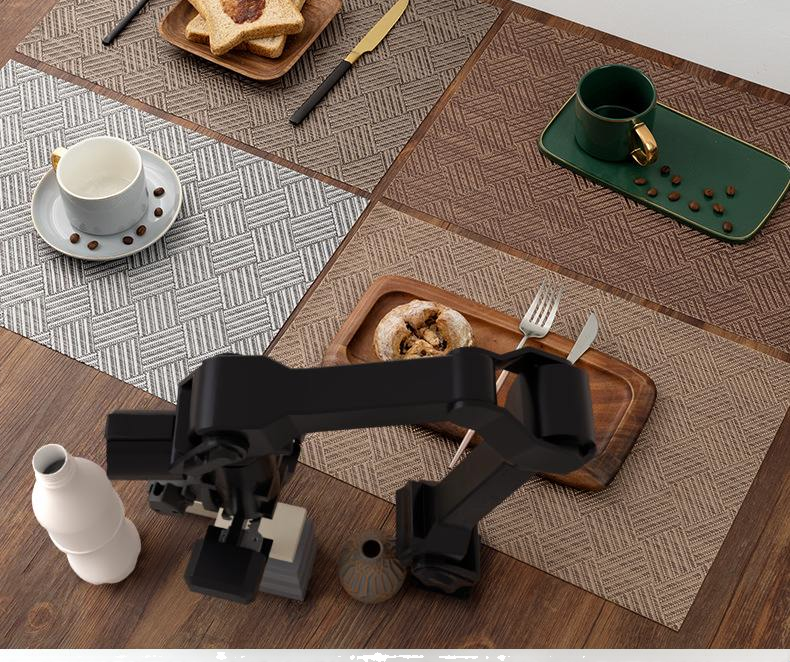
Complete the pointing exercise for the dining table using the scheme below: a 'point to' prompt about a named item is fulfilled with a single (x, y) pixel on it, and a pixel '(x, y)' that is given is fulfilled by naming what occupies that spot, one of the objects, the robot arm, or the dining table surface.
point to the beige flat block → (278, 529)
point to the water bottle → (84, 516)
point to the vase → (371, 566)
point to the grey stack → (292, 568)
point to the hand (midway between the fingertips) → (259, 525)
